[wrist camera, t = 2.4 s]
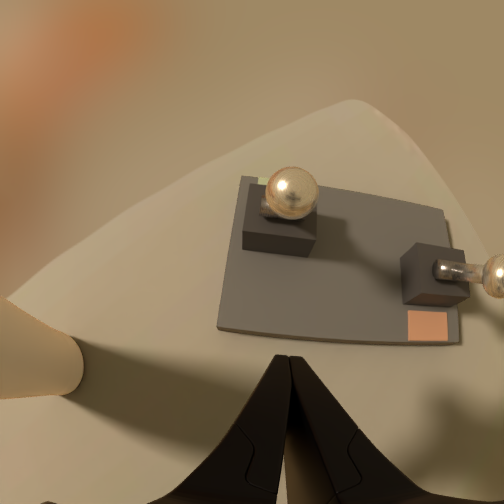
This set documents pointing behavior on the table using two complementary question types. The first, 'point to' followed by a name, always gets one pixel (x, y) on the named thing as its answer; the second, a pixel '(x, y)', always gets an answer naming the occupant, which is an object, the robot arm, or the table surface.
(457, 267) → the silver lever handle
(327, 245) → the switch board
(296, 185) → the metallic ball-topped lever
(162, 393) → the table surface
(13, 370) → the beige cylinder
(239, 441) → the robot arm
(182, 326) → the table surface
